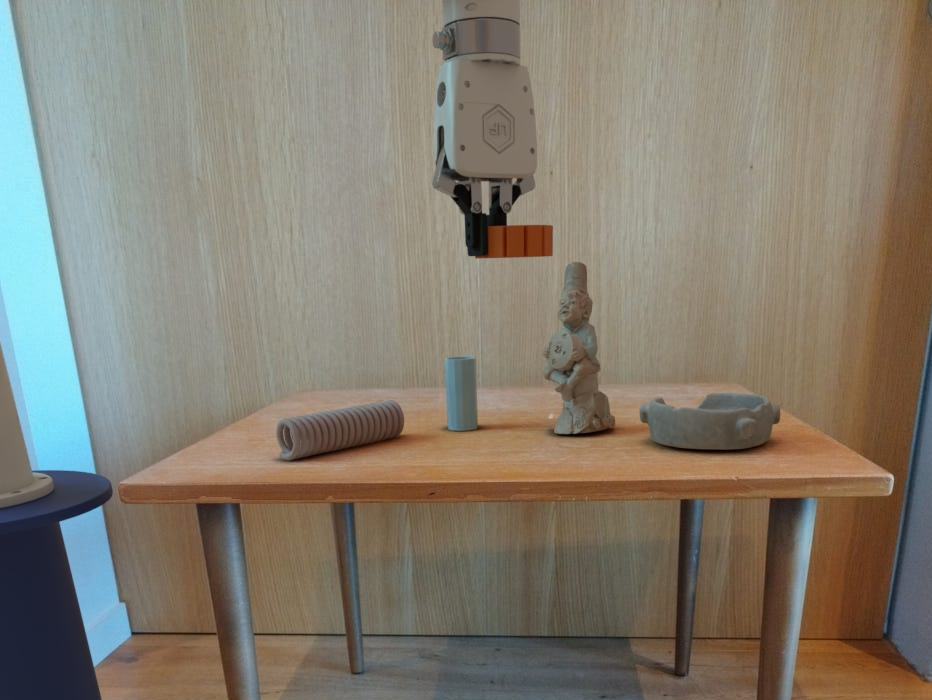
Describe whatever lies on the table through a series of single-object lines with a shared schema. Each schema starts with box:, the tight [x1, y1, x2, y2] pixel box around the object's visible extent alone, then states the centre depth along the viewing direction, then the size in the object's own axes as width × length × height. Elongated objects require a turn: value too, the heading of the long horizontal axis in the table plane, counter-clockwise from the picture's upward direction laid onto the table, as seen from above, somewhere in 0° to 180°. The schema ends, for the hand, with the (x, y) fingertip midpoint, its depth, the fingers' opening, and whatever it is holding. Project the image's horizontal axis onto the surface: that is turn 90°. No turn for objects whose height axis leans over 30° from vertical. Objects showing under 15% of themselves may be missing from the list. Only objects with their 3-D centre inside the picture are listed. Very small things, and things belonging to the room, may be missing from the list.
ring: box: [474, 224, 554, 259], centre depth 92 cm, size 8×8×3 cm
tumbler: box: [444, 355, 479, 432], centre depth 112 cm, size 4×4×9 cm
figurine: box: [541, 261, 617, 435], centre depth 105 cm, size 9×8×20 cm
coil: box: [275, 399, 405, 461], centre depth 103 cm, size 5×5×18 cm
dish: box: [639, 392, 781, 451], centre depth 99 cm, size 14×14×5 cm
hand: (486, 254), depth 91 cm, fingers closed on ring, 1 cm apart
